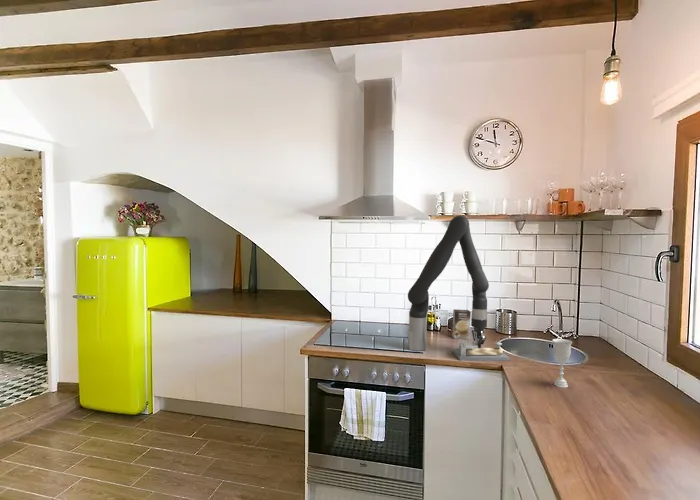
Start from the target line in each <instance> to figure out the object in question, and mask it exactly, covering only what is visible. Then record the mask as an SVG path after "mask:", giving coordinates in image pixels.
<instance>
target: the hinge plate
mask: <svg viewBox="0 0 700 500" xmlns="http://www.w3.org/2000/svg"><path fill="white" fill-rule="evenodd" d="M494 344H495V345H496V348H497V349H500V348H501V346H502V345H503V343H502V342H499V341H496V342H495V343H494ZM451 352H452V353H453V354H454V355H455V356H456V358H458V360H459V361H471V362H472V361H474V362H475V361H477V362H478V361H491V362H492V361H496V362H497V361H498V362H499V361H502V362H504V361H509V362H510V359H511V358H510V356H508V355H507V354H506V353H505V352H503V355H467V354H466V356H461V355H460V354H459V348H451Z"/></svg>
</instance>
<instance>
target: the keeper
mask: <svg viewBox="0 0 700 500" xmlns="http://www.w3.org/2000/svg"><path fill="white" fill-rule="evenodd" d="M458 349H459V354H460V355H461V356H466V349H478V345H476V344H475V341H474V340H470V339H460V340H459V343H458Z"/></svg>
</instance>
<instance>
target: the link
mask: <svg viewBox="0 0 700 500" xmlns="http://www.w3.org/2000/svg"><path fill="white" fill-rule="evenodd" d="M503 353H504V352H503V348H501V347H500V349H497V347H481V348H478V349H466V354H467V355H503Z"/></svg>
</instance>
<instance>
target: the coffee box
mask: <svg viewBox="0 0 700 500" xmlns="http://www.w3.org/2000/svg"><path fill="white" fill-rule="evenodd" d="M452 311H453V313H452V335H451V336H452V338H453V339H457V340H459V339H460V340H470V339H471V314H472V311H470V310H468V309H453V310H452Z"/></svg>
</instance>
